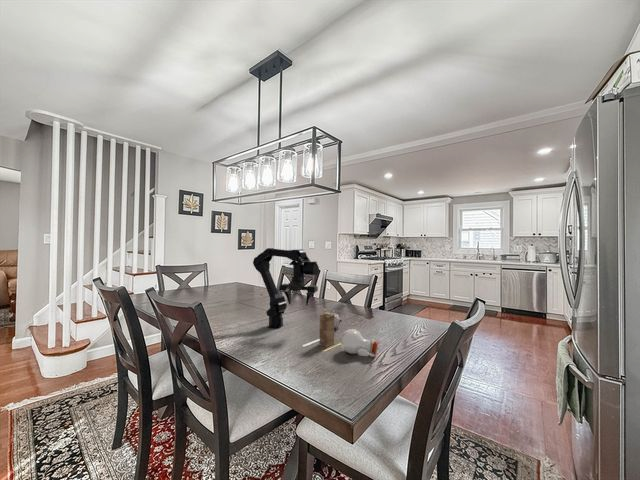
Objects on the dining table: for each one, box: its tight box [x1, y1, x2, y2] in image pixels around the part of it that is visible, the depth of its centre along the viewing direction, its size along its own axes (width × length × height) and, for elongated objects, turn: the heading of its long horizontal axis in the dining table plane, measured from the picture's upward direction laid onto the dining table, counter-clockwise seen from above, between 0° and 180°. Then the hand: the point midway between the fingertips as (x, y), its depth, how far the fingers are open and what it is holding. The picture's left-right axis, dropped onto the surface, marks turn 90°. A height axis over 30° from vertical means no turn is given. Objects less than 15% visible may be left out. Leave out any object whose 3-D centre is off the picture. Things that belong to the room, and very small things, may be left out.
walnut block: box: [319, 312, 335, 348], centre depth 119 cm, size 5×5×14 cm
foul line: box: [301, 338, 320, 348], centre depth 123 cm, size 18×2×1 cm, turn 138°
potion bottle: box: [340, 328, 379, 358], centre depth 109 cm, size 9×10×15 cm
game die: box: [328, 311, 342, 330], centre depth 141 cm, size 9×8×10 cm
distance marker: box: [322, 342, 341, 353], centre depth 116 cm, size 14×1×1 cm, turn 138°
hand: (298, 305), depth 136 cm, fingers open, 9 cm apart
